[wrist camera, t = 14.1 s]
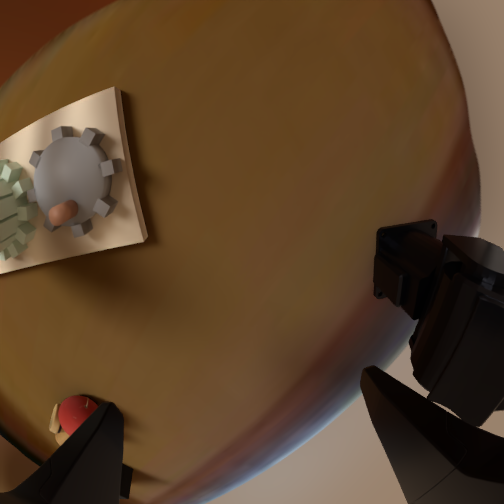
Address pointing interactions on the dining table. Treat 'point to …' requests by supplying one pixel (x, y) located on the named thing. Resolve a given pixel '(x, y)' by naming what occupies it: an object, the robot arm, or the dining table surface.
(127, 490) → the digital camera
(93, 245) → the gear board
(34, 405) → the dining table surface
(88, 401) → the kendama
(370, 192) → the dining table surface
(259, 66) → the dining table surface
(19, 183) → the gear sleeve
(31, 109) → the dining table surface
